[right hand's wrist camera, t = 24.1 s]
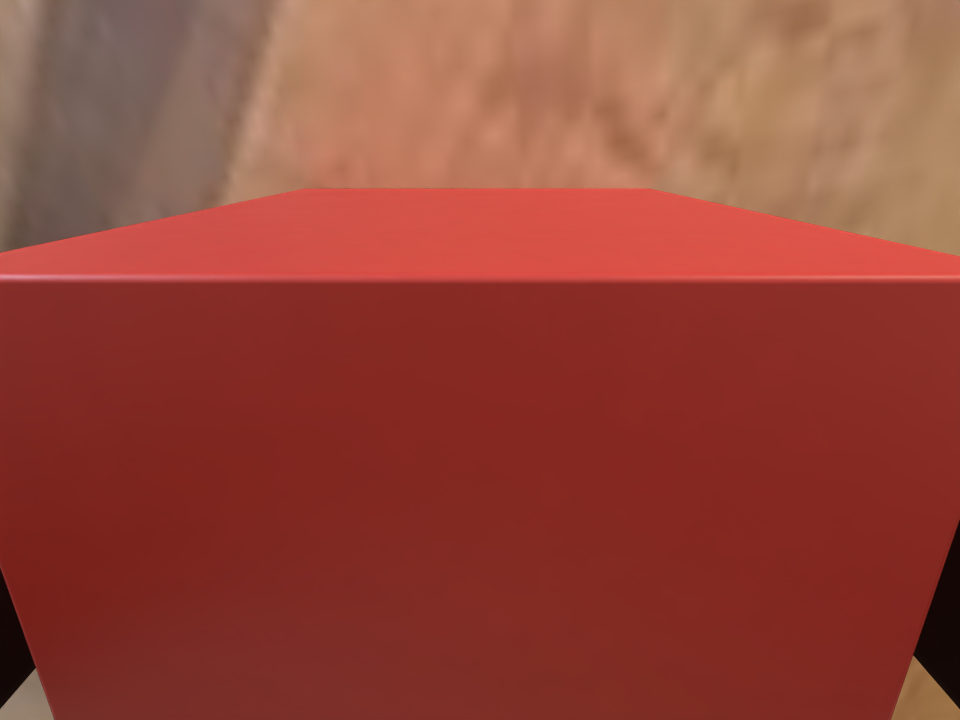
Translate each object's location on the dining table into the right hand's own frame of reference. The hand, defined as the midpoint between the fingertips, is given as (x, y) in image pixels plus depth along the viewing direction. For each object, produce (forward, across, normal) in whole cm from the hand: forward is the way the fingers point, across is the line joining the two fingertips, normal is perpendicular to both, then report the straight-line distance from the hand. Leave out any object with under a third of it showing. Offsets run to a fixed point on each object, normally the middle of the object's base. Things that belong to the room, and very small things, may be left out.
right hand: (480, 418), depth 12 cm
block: (+3, 0, 0) cm, 3 cm away
